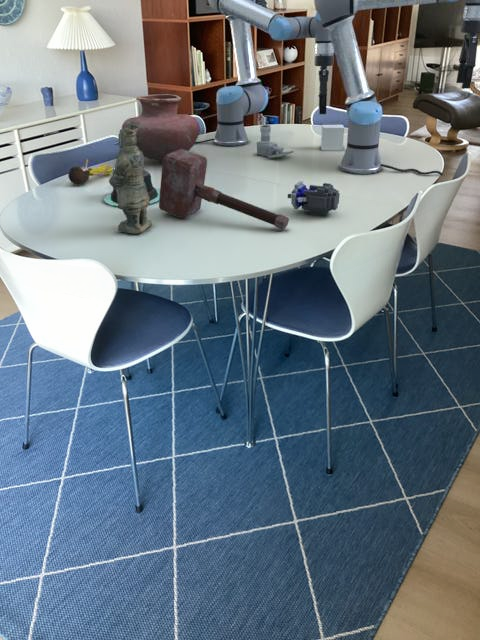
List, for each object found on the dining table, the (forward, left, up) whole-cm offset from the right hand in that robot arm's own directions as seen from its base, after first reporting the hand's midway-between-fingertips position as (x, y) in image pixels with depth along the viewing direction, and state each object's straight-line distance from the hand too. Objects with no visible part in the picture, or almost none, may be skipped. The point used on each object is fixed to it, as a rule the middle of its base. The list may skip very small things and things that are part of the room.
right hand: (462, 85), depth 203 cm
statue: (+111, +69, -28) cm, 134 cm away
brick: (+43, -25, -28) cm, 57 cm away
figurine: (+135, +16, -28) cm, 139 cm away
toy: (+59, +56, -28) cm, 86 cm away
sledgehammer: (+85, +62, -28) cm, 109 cm away
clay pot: (+114, -8, -28) cm, 118 cm away
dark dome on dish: (+117, +39, -28) cm, 127 cm away
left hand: (+48, -23, -12) cm, 55 cm away
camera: (+69, -12, -28) cm, 75 cm away
